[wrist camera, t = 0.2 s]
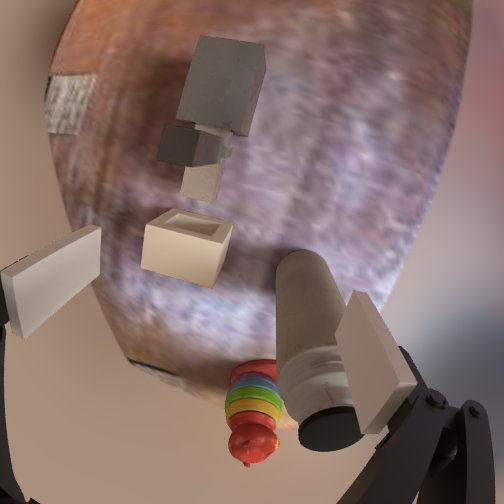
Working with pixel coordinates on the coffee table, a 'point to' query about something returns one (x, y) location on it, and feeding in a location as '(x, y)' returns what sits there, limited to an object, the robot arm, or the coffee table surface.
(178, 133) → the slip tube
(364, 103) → the coffee table surface
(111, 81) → the coffee table surface
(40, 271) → the robot arm
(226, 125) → the grey block
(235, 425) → the stacking bear
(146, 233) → the socket block
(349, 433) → the thermos bottle
